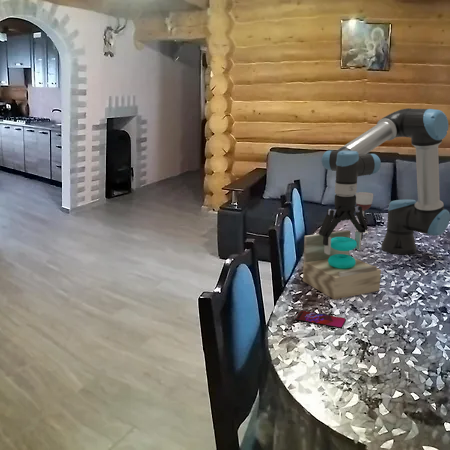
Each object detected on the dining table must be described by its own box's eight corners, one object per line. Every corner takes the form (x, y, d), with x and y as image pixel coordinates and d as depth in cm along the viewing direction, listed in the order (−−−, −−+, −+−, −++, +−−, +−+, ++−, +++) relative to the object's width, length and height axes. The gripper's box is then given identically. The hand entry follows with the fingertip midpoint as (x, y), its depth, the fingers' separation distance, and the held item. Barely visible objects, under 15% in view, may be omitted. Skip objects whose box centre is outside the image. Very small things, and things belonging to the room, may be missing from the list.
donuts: (356, 244, 185) (327, 242, 188) (354, 271, 188) (326, 268, 190) (357, 236, 194) (330, 234, 197) (356, 262, 197) (329, 260, 200)
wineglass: (371, 234, 265) (374, 195, 260) (353, 233, 267) (356, 194, 262) (370, 230, 273) (372, 192, 268) (353, 229, 274) (355, 191, 269)
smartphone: (341, 327, 160) (294, 319, 166) (341, 330, 160) (294, 321, 166) (346, 318, 167) (301, 310, 173) (346, 320, 167) (300, 312, 173)
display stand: (302, 281, 200) (304, 235, 196) (345, 273, 209) (348, 230, 204) (334, 299, 183) (336, 250, 178) (379, 290, 191) (383, 243, 186)
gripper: (322, 199, 179) (320, 258, 184) (380, 193, 189) (376, 249, 194) (310, 195, 185) (308, 252, 191) (366, 189, 195) (363, 244, 201)
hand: (342, 251), depth 192 cm, fingers open, 13 cm apart
